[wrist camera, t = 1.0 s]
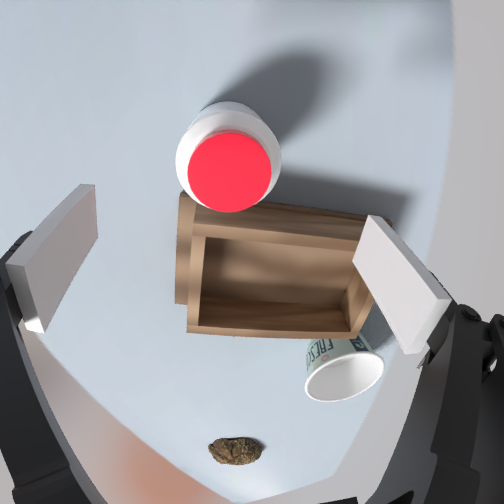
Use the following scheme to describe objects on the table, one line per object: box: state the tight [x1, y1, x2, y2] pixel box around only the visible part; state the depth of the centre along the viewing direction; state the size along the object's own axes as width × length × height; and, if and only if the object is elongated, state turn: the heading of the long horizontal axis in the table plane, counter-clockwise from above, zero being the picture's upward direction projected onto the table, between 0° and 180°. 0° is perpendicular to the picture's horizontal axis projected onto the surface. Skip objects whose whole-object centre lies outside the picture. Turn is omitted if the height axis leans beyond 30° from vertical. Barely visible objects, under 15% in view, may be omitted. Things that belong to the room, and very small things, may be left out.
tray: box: [175, 193, 392, 339], centre depth 35 cm, size 14×24×6 cm, turn 81°
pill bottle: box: [176, 101, 282, 212], centre depth 25 cm, size 8×8×11 cm
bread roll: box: [208, 438, 262, 465], centre depth 63 cm, size 13×12×5 cm
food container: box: [305, 332, 385, 402], centre depth 44 cm, size 12×12×6 cm
